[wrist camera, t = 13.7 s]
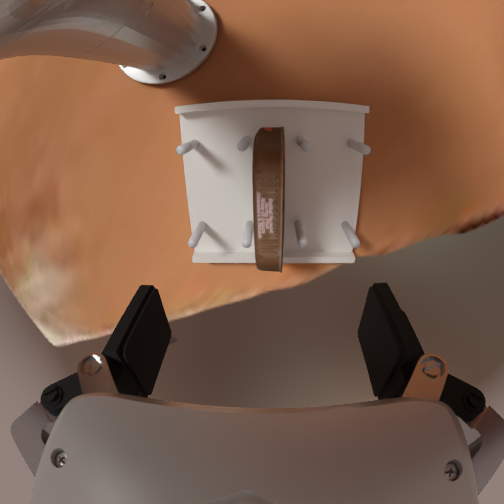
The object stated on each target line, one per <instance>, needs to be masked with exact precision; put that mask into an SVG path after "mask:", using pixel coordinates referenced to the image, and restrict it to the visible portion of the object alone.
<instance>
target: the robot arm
mask: <svg viewBox="0 0 504 504" xmlns="http://www.w3.org/2000/svg"><path fill="white" fill-rule="evenodd" d="M204 9H205V11H202V10H204ZM217 32H218V26H217V20H216V17H215V15H214V12H213V11H212V9H211V8H210V6H209V5H208V4H207V3H206V2H205V1H203V0H0V60H1V59H5V58H10V57H16V56H27V55H50V56H63V57H71V58H79V59H87V60H94V61H100V62H106V63H112V64H117V65H119V66H120V68H121V70H122V71H123V72H124V73H125V74H126V75H127V76H128V77H130V78H132V79H133V80H135V81H138V82H141V83H146V84H165V83H170V82H173V81H176V80H179V79H181V78H183V77H185V76H187V75H189V74H190V73H191V72H193V71H194V70H196V69H197V68H198V67H199V66H200V65H201V64H202V63H203V62H204V61H205V60H206V58H207V57H208V56H209V55H210V53H211V51H212V49H213V47H214V45H215V42H216V39H217ZM204 48H206V51H203V49H204ZM165 75H166V78H165V79H164V76H165ZM358 338H359V342H360V345H361V348H362V352H363V355H364V359H365V363H366V366H367V369H368V373H369V377H370V381H371V385H372V389H373V393H374V396H375V397H377V396H378V400H375V401H368V402H360V403H352V404H343V405H332V406H321V407H303V408H235V407H218V406H206V405H195V404H186V403H177V402H171V401H164V400H157V399H151V398H147V397H148V395H151V393H152V391H153V388H154V385H155V382H156V379H157V376H158V373H159V370H160V367H161V364H162V361H163V358H164V356H165V353H166V350H167V347H168V344H169V341H170V339H171V329H170V326H169V323H168V320H167V317H166V314H165V311H164V308H163V305H162V301H161V298H160V295H159V291H158V289H155V287H154V286H152V285H141V286H140V287H139V289H138V290H137V292H136V294H135V295H134V297H133V299H132V300H131V302H130V304H129V305H128V307H127V309H126V311H125V312H124V314H123V315H122V317H121V319H120V321H119V323H118V324H117V326H116V328H115V330H114V332H113V333H112V335H111V337H110V339H109V341H108V343H107V345H106V346H105V348H104V350H103V352H102V354H100V353H90V354H87V355H85V356H84V357H83V358H82V359H81V360H80V361H79V363H78V365H77V373H74V374H72V375H70V376H68V377H66V378H64V379H62V380H60V381H58V382H56V383H54V384H51V385H50V386H48V387H47V388H45V390H44V391H43V393H42V395H41V402H40V403H38V402H36V403H34V404H33V405H32V406H31V407H30V408H29V409H27V410H26V411H25V412H24V413H23V414H22V415H21V416H19V417H18V418H17V419H16V420H15V421H14V422H13V424H12V426H11V434H12V437H13V439H14V441H15V443H16V445H17V447H18V449H19V451H20V452H21V454H22V456H23V458H24V459H25V461H26V463H27V465H28V466H29V468H30V470H31V471H32V473H33V475H34V476H35V481H34V484H33V488H32V493H31V498H30V503H29V504H479V501H478V495H479V494H480V492H481V491H482V490H483V488H484V487H485V486H486V484H487V483H488V481H489V480H490V479H491V477H492V476H493V474H494V473H495V471H496V470H497V468H498V467H499V466H500V464H501V462H502V461H503V459H504V419H503V418H502V417H501V416H500V415H499V414H498V413H497V412H496V411H495V410H494V409H492V408H491V407H490V406H489V407H488V408H487V407H486V406H485V397H484V395H483V393H482V392H481V391H480V390H478V389H477V388H475V387H473V386H471V385H469V384H468V383H466V382H463V381H462V380H460V379H458V378H456V377H454V376H452V375H450V374H448V365H447V363H446V361H445V360H444V359H443V358H442V357H441V356H439V355H437V354H432V353H430V354H429V353H428V354H424V352H423V349H422V347H421V345H420V343H419V341H418V339H417V337H416V334H415V332H414V330H413V328H412V326H411V324H410V322H409V320H408V318H407V316H406V314H405V313H404V312H403V311H402V310H401V308H400V307H399V305H398V303H397V301H396V299H395V297H394V295H393V293H392V291H391V290H390V288H389V286H388V284H387V283H374V284H373V287H370V288H369V291H368V295H367V299H366V303H365V307H364V311H363V314H362V318H361V322H360V325H359V329H358Z"/></svg>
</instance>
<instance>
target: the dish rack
mask: <svg viewBox="0 0 504 504" xmlns="http://www.w3.org/2000/svg"><path fill="white" fill-rule="evenodd" d="M365 113H369V106H364V105H356V104H347V103H337V102H325V101H308V100H241V101H224V102H212V103H202V104H193V105H185V106H177V107H175V114H180V126H181V138H182V145H179V146H178V147H177V149H176V151H177V153H178V154H179V155H183V161H184V171H185V180H186V189H187V198H188V206H189V214H190V222H191V229H192V236H191V238H190V240H189V241H188V245H189V247H191V248H194V250H195V252H194V254H193V256H192V261H193V263H256V260H255V245H254V221H253V183H252V161H253V145H254V138H255V135H256V133H257V132H258V130H259V129H260V128H262V127H282V126H284V135H285V211H284V244H283V263H354V262H355V256H354V254H353V252H352V251H353V248H358V247H359V246H360V241H359V240H358V238H357V236H356V235H355V231H356V223H357V215H358V207H359V198H360V188H361V177H362V164H363V154H364V155H368V154H369V153H370V152H371V148H370V147H369V146H368V145H366V144H364V125H365Z"/></svg>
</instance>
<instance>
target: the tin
mask: <svg viewBox="0 0 504 504" xmlns="http://www.w3.org/2000/svg"><path fill="white" fill-rule="evenodd" d="M252 183H253V221H254V245H255V260H256V266H257V268H258V269H259V270H263V271H279V272H282V263H283V244H284V211H285V135H284V126H282V127H262V128H260V129H259V130H258V132H257V133H256V135H255V138H254V145H253V161H252Z"/></svg>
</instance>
